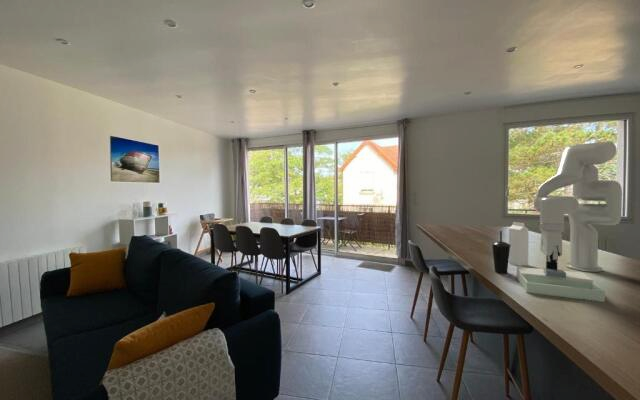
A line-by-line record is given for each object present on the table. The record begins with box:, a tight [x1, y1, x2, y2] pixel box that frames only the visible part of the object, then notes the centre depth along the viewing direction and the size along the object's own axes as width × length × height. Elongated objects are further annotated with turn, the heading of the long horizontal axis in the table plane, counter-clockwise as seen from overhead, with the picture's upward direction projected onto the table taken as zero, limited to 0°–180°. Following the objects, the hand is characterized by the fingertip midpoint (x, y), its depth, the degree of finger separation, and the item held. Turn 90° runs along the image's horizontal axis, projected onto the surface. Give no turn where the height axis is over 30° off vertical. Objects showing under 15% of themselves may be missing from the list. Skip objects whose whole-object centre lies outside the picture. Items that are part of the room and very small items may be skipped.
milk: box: [508, 221, 529, 267], centre depth 138 cm, size 6×6×22 cm
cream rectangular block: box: [516, 266, 594, 283], centre depth 109 cm, size 9×22×5 cm, turn 63°
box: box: [520, 276, 606, 303], centre depth 101 cm, size 9×22×4 cm, turn 63°
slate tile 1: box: [543, 267, 566, 278], centre depth 106 cm, size 4×6×2 cm, turn 62°
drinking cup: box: [491, 230, 511, 274], centre depth 126 cm, size 8×8×20 cm
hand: (551, 271), depth 109 cm, fingers closed
